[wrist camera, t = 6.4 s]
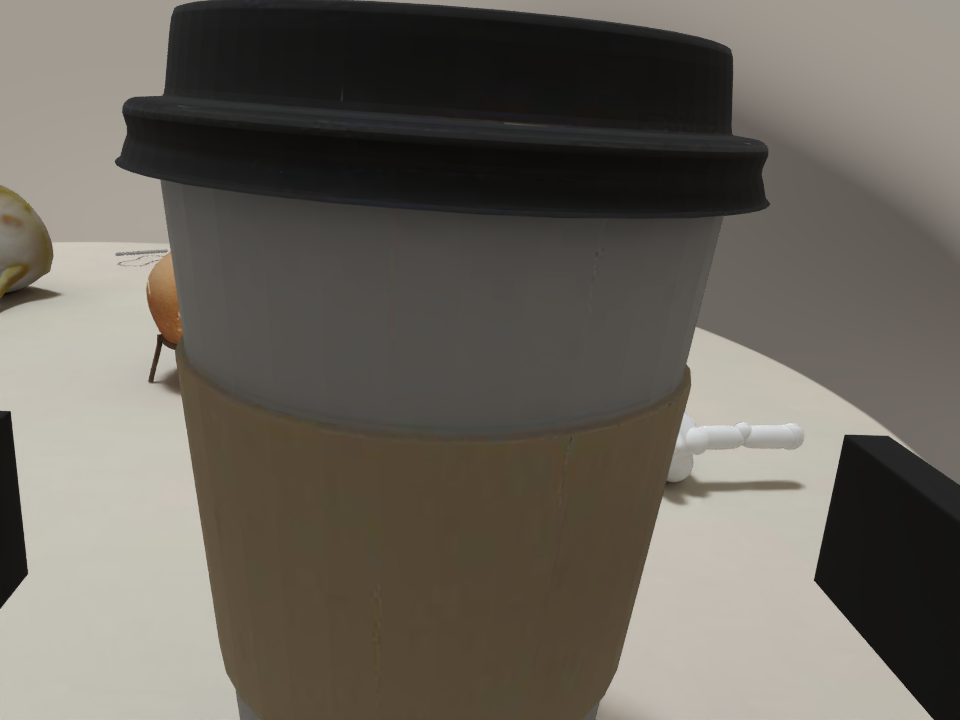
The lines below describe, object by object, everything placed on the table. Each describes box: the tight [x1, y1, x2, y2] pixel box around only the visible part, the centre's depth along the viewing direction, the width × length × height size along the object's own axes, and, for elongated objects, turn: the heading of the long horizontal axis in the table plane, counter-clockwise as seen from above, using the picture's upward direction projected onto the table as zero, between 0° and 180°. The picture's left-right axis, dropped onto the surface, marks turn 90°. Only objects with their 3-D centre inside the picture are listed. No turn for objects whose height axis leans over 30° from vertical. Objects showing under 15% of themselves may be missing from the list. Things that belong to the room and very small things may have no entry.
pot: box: [146, 252, 183, 382], centre depth 41 cm, size 6×8×6 cm
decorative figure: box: [666, 412, 804, 482], centre depth 40 cm, size 4×12×18 cm
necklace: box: [116, 249, 168, 256], centre depth 68 cm, size 2×5×1 cm, turn 168°
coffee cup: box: [115, 0, 770, 720], centre depth 14 cm, size 9×9×15 cm
